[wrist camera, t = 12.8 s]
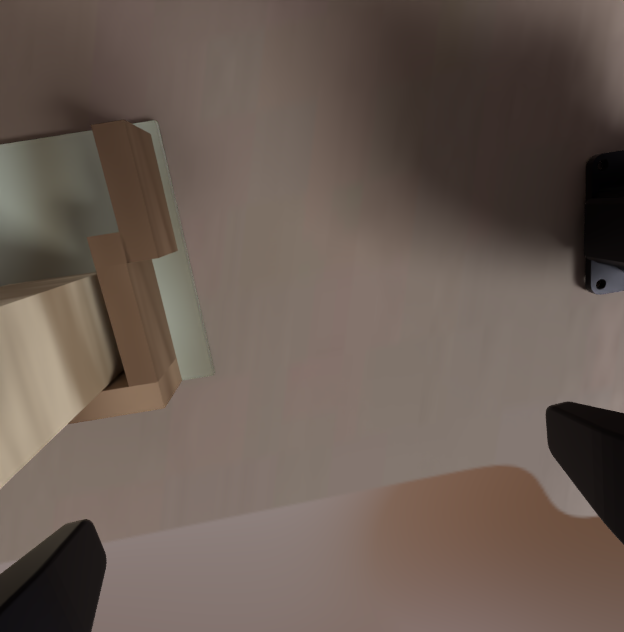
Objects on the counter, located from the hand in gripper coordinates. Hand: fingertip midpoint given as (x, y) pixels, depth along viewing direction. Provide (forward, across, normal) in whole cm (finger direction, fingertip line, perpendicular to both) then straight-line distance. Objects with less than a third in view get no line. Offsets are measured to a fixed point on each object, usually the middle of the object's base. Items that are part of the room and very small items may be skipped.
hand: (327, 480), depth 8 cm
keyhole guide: (+14, +10, -4) cm, 17 cm away
